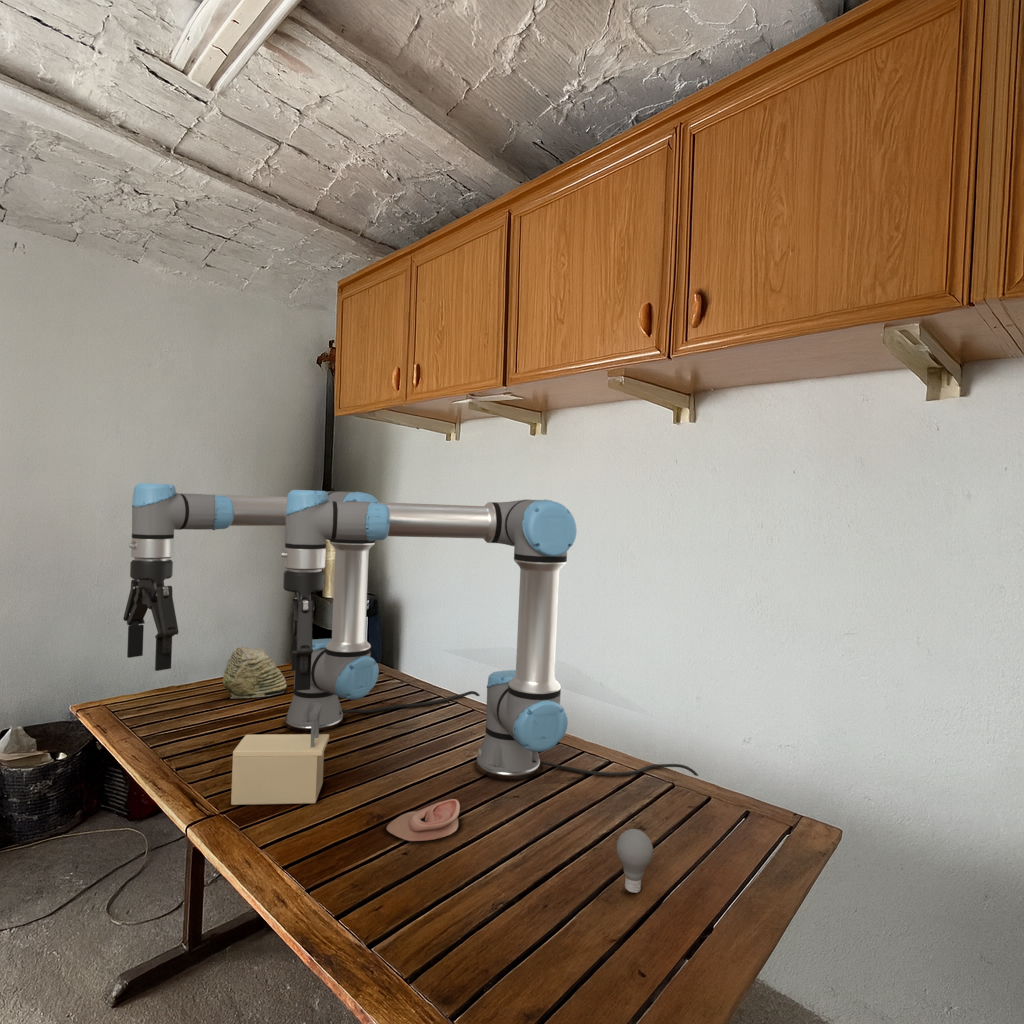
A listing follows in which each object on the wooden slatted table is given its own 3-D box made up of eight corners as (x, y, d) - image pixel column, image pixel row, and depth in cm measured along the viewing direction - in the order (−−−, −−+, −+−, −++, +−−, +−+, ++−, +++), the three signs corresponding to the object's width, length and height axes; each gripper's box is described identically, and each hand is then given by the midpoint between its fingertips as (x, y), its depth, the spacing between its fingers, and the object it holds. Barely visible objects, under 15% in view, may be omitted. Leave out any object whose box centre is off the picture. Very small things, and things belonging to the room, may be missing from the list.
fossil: (218, 695, 195) (220, 647, 195) (278, 685, 208) (279, 640, 207) (228, 703, 189) (230, 653, 188) (289, 692, 201) (290, 645, 201)
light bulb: (610, 879, 108) (613, 822, 108) (644, 879, 109) (647, 822, 109) (619, 902, 102) (622, 840, 102) (655, 901, 103) (658, 840, 103)
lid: (329, 738, 140) (330, 700, 140) (322, 755, 131) (323, 715, 131) (245, 739, 138) (247, 700, 138) (232, 756, 128) (234, 715, 128)
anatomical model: (380, 815, 119) (403, 788, 130) (379, 836, 119) (402, 808, 130) (448, 826, 116) (465, 797, 127) (447, 847, 116) (464, 817, 127)
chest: (322, 783, 140) (324, 739, 140) (315, 803, 131) (317, 756, 131) (244, 784, 138) (245, 739, 138) (230, 804, 129) (232, 756, 128)
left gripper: (108, 554, 134) (104, 654, 134) (159, 566, 118) (155, 679, 119) (146, 553, 140) (143, 648, 140) (199, 564, 124) (195, 671, 124)
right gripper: (282, 562, 132) (278, 663, 133) (285, 578, 109) (281, 700, 109) (319, 562, 135) (315, 661, 135) (330, 578, 112) (326, 697, 112)
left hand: (148, 662), depth 129 cm, fingers open, 13 cm apart
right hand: (300, 679), depth 122 cm, fingers open, 13 cm apart
